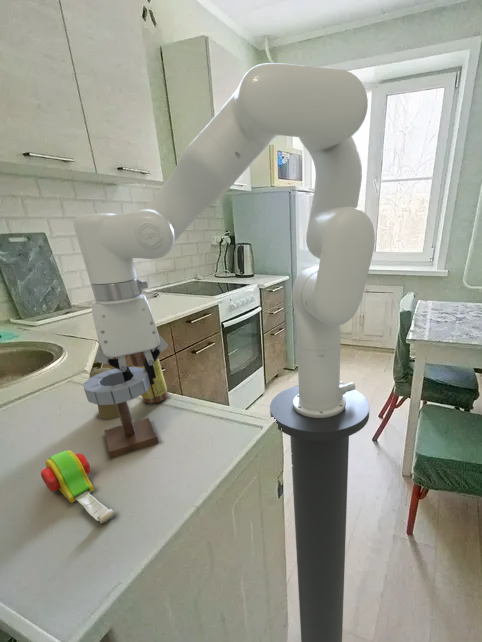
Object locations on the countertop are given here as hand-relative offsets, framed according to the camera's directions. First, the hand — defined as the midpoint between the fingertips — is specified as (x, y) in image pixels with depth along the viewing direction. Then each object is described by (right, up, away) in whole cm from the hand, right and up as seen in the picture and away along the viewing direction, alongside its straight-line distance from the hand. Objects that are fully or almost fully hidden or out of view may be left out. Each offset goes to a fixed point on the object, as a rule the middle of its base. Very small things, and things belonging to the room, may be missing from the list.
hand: (141, 384), depth 70 cm
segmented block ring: (-4, -1, -2) cm, 4 cm away
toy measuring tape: (-5, -19, -11) cm, 22 cm away
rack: (-3, -11, +3) cm, 12 cm away
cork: (-13, -7, +14) cm, 20 cm away
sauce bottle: (-5, -4, +19) cm, 20 cm away
